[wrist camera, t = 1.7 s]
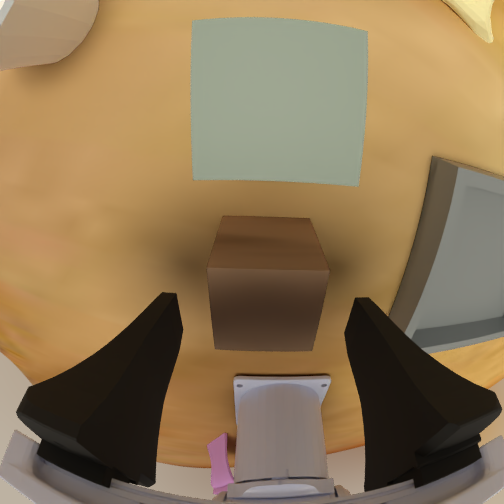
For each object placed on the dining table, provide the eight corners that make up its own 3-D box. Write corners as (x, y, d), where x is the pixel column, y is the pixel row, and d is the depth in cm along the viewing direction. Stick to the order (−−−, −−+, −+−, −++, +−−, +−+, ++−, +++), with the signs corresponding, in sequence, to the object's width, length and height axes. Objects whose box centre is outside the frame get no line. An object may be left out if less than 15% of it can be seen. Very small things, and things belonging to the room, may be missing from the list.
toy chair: (260, 457, 32) (257, 543, 19) (204, 446, 31) (192, 539, 18) (291, 441, 29) (294, 544, 16) (228, 429, 27) (218, 545, 14)
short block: (300, 287, 16) (311, 351, 12) (225, 285, 17) (214, 349, 12) (309, 218, 14) (330, 270, 10) (223, 215, 14) (206, 267, 10)
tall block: (310, 146, 12) (358, 186, 6) (226, 143, 12) (193, 180, 6) (314, 67, 10) (367, 31, 4) (227, 64, 11) (192, 20, 4)
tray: (500, 317, 18) (511, 334, 16) (381, 334, 18) (391, 359, 16) (547, 194, 12) (566, 206, 10) (432, 155, 12) (458, 166, 10)
